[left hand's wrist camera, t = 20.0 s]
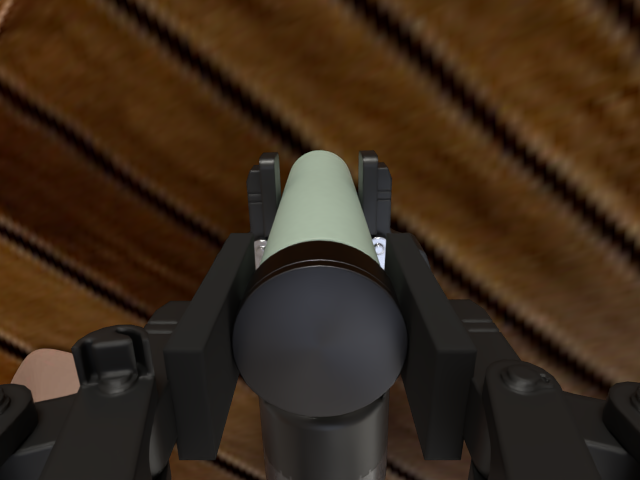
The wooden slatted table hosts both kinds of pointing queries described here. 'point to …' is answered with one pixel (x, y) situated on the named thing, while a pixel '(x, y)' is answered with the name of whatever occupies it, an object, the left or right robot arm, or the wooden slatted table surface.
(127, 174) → the wooden slatted table surface
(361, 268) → the lid
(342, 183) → the pale green cylinder
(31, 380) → the anatomical model
